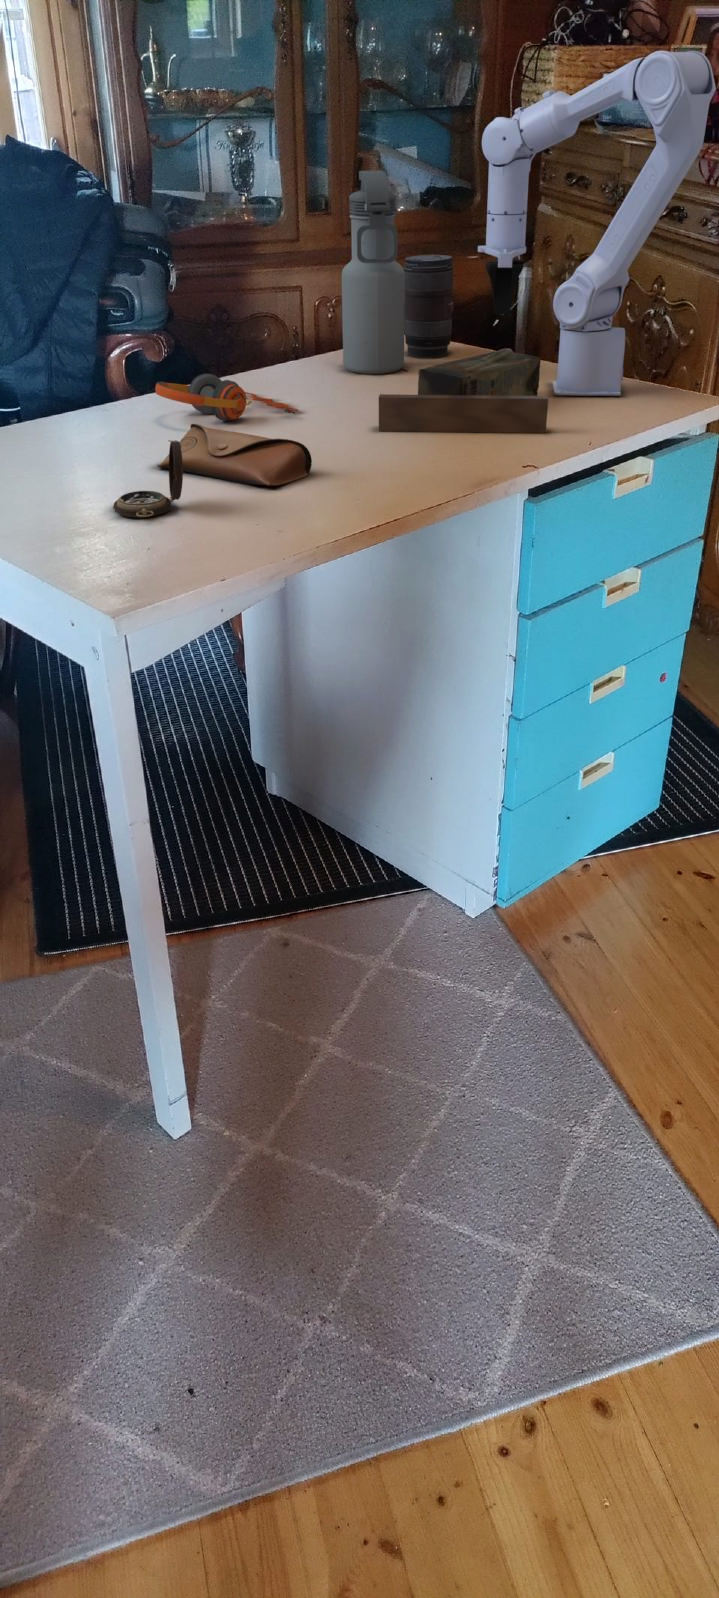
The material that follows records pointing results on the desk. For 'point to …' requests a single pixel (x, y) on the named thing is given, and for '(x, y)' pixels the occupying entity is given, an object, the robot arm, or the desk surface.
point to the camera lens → (428, 305)
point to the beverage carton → (483, 375)
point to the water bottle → (373, 282)
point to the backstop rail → (463, 413)
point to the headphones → (214, 396)
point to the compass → (151, 500)
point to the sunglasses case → (242, 457)
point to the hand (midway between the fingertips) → (502, 313)
